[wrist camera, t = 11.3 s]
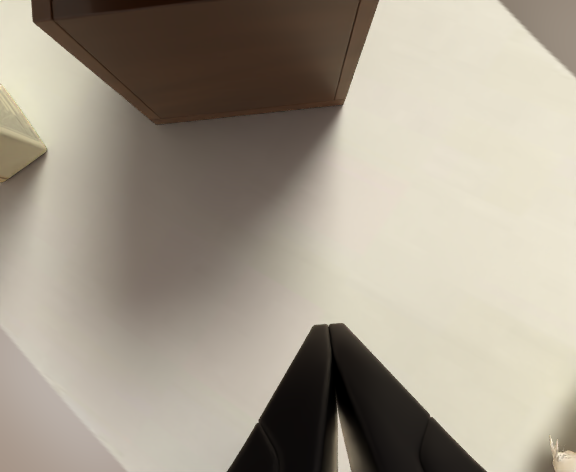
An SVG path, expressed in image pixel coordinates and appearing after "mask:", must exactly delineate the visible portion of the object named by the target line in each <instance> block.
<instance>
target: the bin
mask: <svg viewBox="0 0 576 472" xmlns="http://www.w3.org/2000/svg"><path fill="white" fill-rule="evenodd" d="M378 2H379V0H31V3H32V17H33V22H34V23H35V24H36V25H37V26H38V27H40V28H41V29H42V30H43V31H44V32H46V33H47V34H48V35H49V36H50V37H52V38H53V39H54V40H55V41H56V42H58V43H59V44H60V45H61V46H62V47H64V48H65V49H66V50H67V51H68V52H69V53H71V54H72V55H73V56H74V57H75V58H77V59H78V60H79V61H80V62H81V63H83V64H84V65H85V66H86V67H87V68H89V69H90V70H91V71H92V72H93V73H95V74H96V75H97V76H98V77H99V78H101V79H102V80H103V81H104V82H105V83H107V84H108V85H109V86H110V87H111V88H113V89H114V90H115V91H116V92H117V93H119V94H120V95H121V96H122V97H123V98H125V99H126V100H127V101H128V102H129V103H131V104H132V105H133V106H134V107H135V108H137V109H138V110H139V111H140V112H141V113H143V114H144V115H145V116H146V117H147V118H149V119H150V120H151V121H152V122H153V123H155V124H156V125H159V124H168V123H177V122H187V121H196V120H205V119H214V118H224V117H233V116H242V115H251V114H261V113H270V112H279V111H288V110H298V109H307V108H316V107H326V106H335V105H343V104H344V101H345V99H346V96H347V93H348V90H349V87H350V84H351V81H352V78H353V75H354V72H355V69H356V67H357V64H358V61H359V58H360V55H361V52H362V49H363V46H364V43H365V40H366V37H367V34H368V31H369V29H370V26H371V23H372V20H373V17H374V14H375V11H376V8H377V5H378Z"/></svg>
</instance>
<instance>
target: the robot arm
mask: <svg viewBox="0 0 576 472" xmlns="http://www.w3.org/2000/svg"><path fill="white" fill-rule="evenodd" d="M336 400H337V402H336ZM337 408H338V414H339V419H340V424H341V428H342V433H343V437H344V441H345V446H346V450H347V454H348V459H349V463H350V467H351V472H487V471H486V470H485V469H483V468H482V467H481V466H480V465H479V464H478V463H477V462H476V461H475V460H474V459H473V458H472V457H471V456H470V455H469V454H468V453H467V452H466V451H465V450H464V449H463V448H462V447H461V446H460V445H459V444H458V443H457V442H456V441H455V440H454V439H453V438H452V437H451V436H450V435H449V434H448V433H447V432H446V431H445V430H444V429H443V428H442V427H441V426H440V425H439V423H438V422H437V421H436V420H435V419H434V418H433V417H430V414H429V413H428V412H427V411H426V410H425V409H424V408H423V407H422V406H421V405H420V404H419V402H418V401H417V400H416V399H415V398H414V397H413V396H412V395H411V394H410V393H409V392H408V391H407V390H406V389H405V388H404V387H403V386H402V385H401V383H400V382H399V381H398V380H397V379H396V378H395V377H394V376H393V375H392V374H391V373H390V372H389V371H388V370H387V369H386V368H385V367H384V365H383V364H382V363H381V362H380V361H379V360H378V359H377V358H376V357H375V356H374V355H373V354H372V353H371V352H370V351H369V350H368V349H367V348H366V346H365V345H364V344H363V343H362V342H361V341H360V340H359V339H358V338H357V337H356V336H355V335H354V334H353V333H352V332H351V331H350V330H349V328H348V327H347V326H346V325H345V324H343V323H336V324H330V325H329V326H328V325H327V324H321V325H314V326H313V327H312V329H311V330H310V332H309V334H308V336H307V337H306V339H305V341H304V343H303V344H302V346H301V348H300V349H299V351H298V353H297V355H296V356H295V358H294V360H293V362H292V363H291V365H290V367H289V368H288V370H287V372H286V374H285V375H284V377H283V379H282V381H281V382H280V384H279V386H278V387H277V389H276V391H275V393H274V394H273V396H272V398H271V400H270V401H269V403H268V405H267V406H266V408H265V410H264V412H263V413H262V415H261V417H260V419H259V423H257V424H256V425H255V427H254V429H253V430H252V432H251V434H250V436H249V437H248V439H247V441H246V442H245V444H244V446H243V447H242V449H241V450H240V452H239V454H238V455H237V457H236V459H235V460H234V462H233V463H232V465H231V466H230V468H229V469H228V471H227V472H338V416H337Z"/></svg>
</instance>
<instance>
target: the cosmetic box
mask: <svg viewBox="0 0 576 472" xmlns="http://www.w3.org/2000/svg"><path fill="white" fill-rule="evenodd" d="M46 151H47V148H46V146H45V145H44V143H43V142H42V140H41V139H40V137H39V136H38V134H37V133H36V131H35V130H34V128H33V127H32V125H31V124H30V123H29V121H28V120H27V118H26V117H25V116H24V114H23V113H22V111H21V110H20V108H19V107H18V106H17V104H16V103H15V101H14V100H13V99H12V97H11V96H10V95H9V93H8V92H7V91H6V89H5V88H4V87H3V86H2V85H1V84H0V182H4V181H6V180H7V179H9V178H10V177H12V176H13V175H14V174H16V173H17V172H19V171H20V170H21V169H23V168H24V167H26V166H27V165H28V164H30V163H31V162H33V161H34V160H35V159H37V158H38V157H39V156H41V155H42V154H44V153H45V152H46Z"/></svg>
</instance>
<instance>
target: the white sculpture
mask: <svg viewBox="0 0 576 472" xmlns="http://www.w3.org/2000/svg"><path fill="white" fill-rule="evenodd" d="M549 438H550V447H551V451H552V455H553V457H554V461H553V466H554V469H555V472H576V453H574V452H572V451H568V450H567V449H566V451H564V452H563V453H562V452H559V453H558V438H557V441H556V444H555V448H554V446H553V443H552V440H551V437H550V435H549ZM560 450H561V449H560ZM562 451H563V450H562Z"/></svg>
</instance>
